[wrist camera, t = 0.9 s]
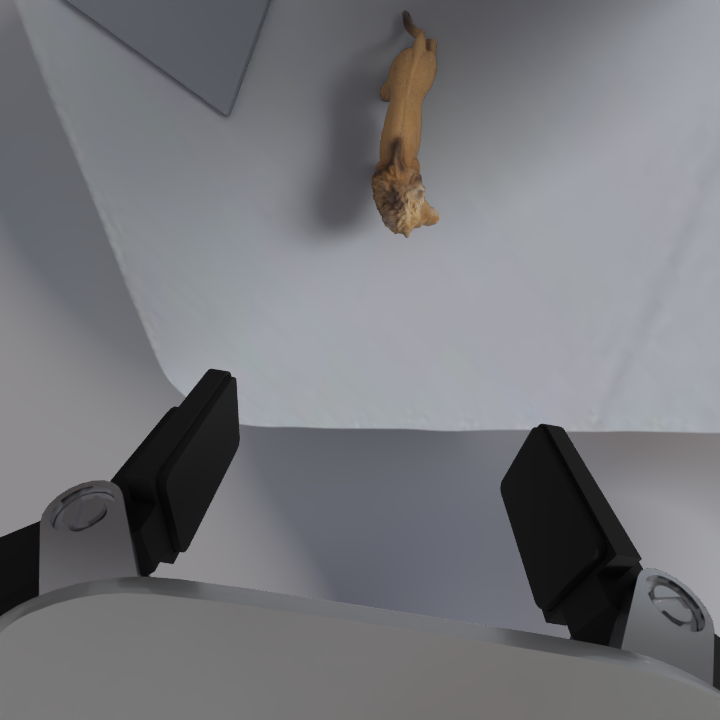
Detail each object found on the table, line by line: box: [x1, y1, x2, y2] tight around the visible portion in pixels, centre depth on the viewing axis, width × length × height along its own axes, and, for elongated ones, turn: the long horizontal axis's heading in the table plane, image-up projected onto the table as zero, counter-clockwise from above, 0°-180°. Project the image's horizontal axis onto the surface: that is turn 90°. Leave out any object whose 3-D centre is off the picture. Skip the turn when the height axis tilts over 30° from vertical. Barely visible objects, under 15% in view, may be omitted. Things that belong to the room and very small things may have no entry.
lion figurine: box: [372, 11, 440, 238], centre depth 26 cm, size 15×5×9 cm, turn 4°
